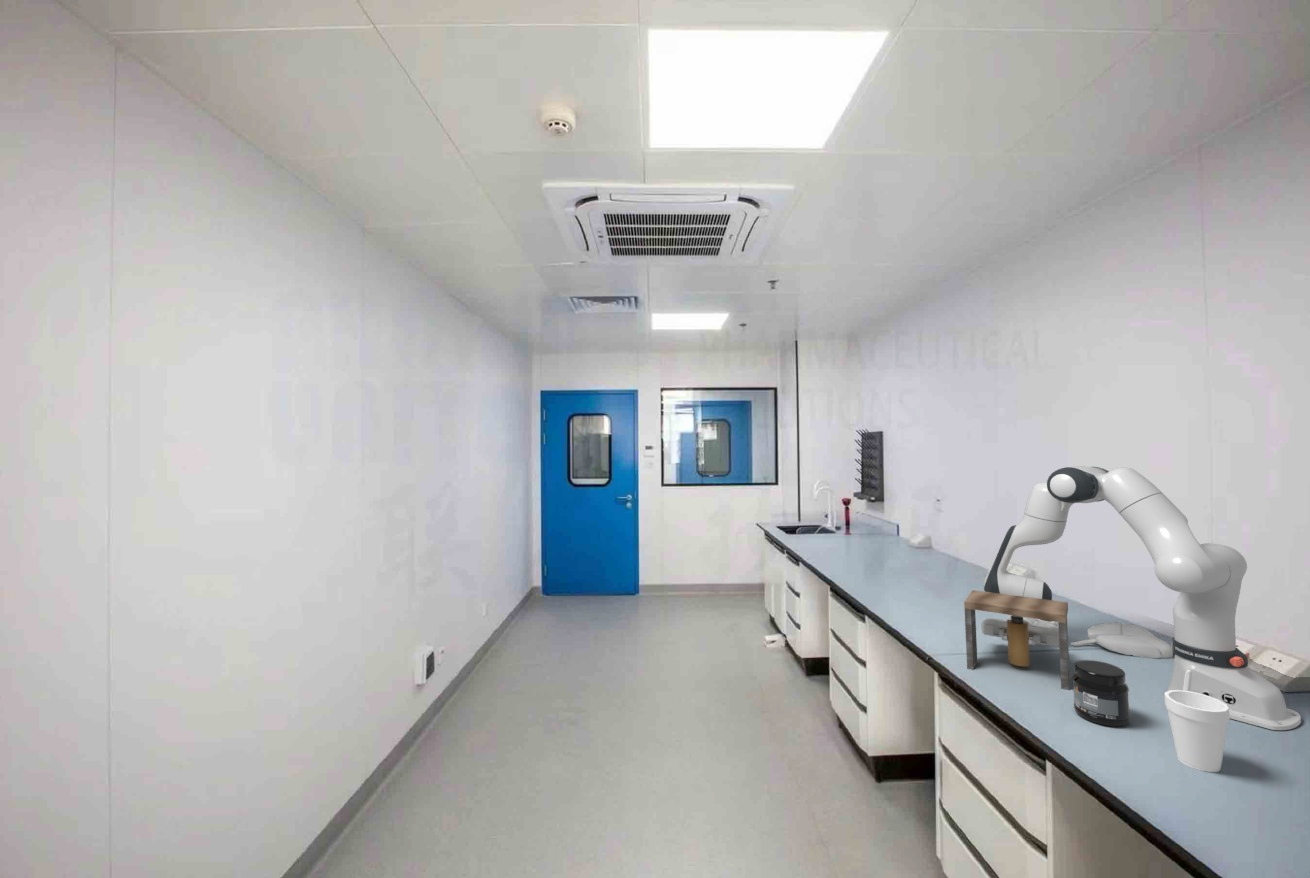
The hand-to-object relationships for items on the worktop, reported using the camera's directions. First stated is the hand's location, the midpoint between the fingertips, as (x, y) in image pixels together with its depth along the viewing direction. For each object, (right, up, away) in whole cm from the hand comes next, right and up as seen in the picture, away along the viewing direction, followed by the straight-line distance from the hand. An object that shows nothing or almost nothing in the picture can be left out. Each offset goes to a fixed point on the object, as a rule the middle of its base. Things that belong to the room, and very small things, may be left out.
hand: (1017, 640), depth 158 cm
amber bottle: (+1, -7, +1) cm, 7 cm away
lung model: (+39, -8, +12) cm, 42 cm away
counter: (0, -8, -1) cm, 8 cm away
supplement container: (+2, -9, -28) cm, 29 cm away
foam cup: (+6, -8, -47) cm, 48 cm away
